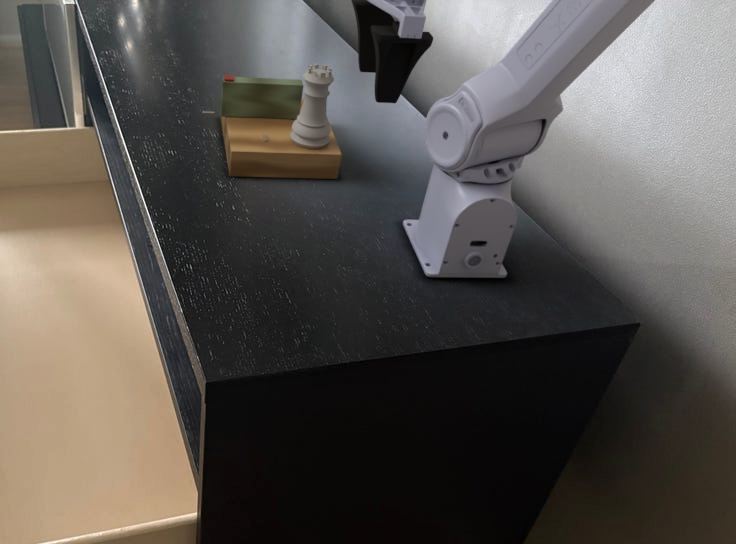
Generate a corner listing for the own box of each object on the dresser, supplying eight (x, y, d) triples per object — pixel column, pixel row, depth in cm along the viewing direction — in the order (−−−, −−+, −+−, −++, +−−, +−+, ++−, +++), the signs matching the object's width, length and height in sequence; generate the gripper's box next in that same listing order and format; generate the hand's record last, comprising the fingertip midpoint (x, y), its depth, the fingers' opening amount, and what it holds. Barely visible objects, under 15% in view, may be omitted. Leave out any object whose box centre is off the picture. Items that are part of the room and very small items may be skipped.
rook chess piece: (337, 142, 83) (350, 70, 78) (312, 154, 81) (322, 80, 76) (307, 127, 86) (317, 56, 80) (281, 138, 83) (289, 66, 78)
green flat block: (297, 113, 88) (301, 77, 85) (299, 119, 87) (303, 83, 84) (220, 110, 87) (222, 73, 84) (221, 116, 86) (223, 79, 83)
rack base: (337, 179, 83) (342, 153, 81) (205, 176, 82) (206, 148, 79) (315, 117, 95) (318, 93, 93) (198, 113, 93) (199, 88, 91)
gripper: (347, -84, 73) (326, 57, 83) (381, -42, 63) (353, 114, 72) (416, -79, 74) (389, 60, 83) (461, -37, 64) (424, 117, 73)
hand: (377, 85), depth 78 cm, fingers open, 7 cm apart
